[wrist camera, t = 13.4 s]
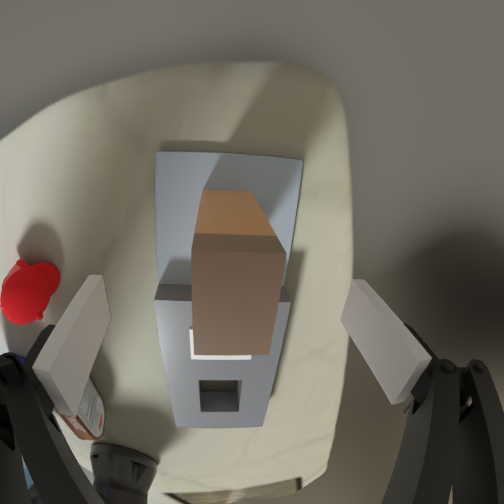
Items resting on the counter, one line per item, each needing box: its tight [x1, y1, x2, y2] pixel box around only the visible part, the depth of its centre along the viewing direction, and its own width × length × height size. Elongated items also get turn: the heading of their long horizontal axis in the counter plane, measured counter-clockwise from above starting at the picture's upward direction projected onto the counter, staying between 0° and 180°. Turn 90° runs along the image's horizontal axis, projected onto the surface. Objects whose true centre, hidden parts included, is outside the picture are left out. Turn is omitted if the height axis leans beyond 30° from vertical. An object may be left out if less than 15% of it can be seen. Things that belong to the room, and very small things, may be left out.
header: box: [154, 284, 291, 428], centre depth 30 cm, size 12×22×4 cm, turn 175°
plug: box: [191, 189, 287, 356], centre depth 18 cm, size 4×6×12 cm, turn 175°
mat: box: [155, 151, 303, 286], centre depth 24 cm, size 12×12×1 cm
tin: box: [54, 375, 106, 441], centre depth 27 cm, size 15×3×8 cm, turn 179°
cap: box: [0, 259, 60, 325], centre depth 22 cm, size 8×6×6 cm
